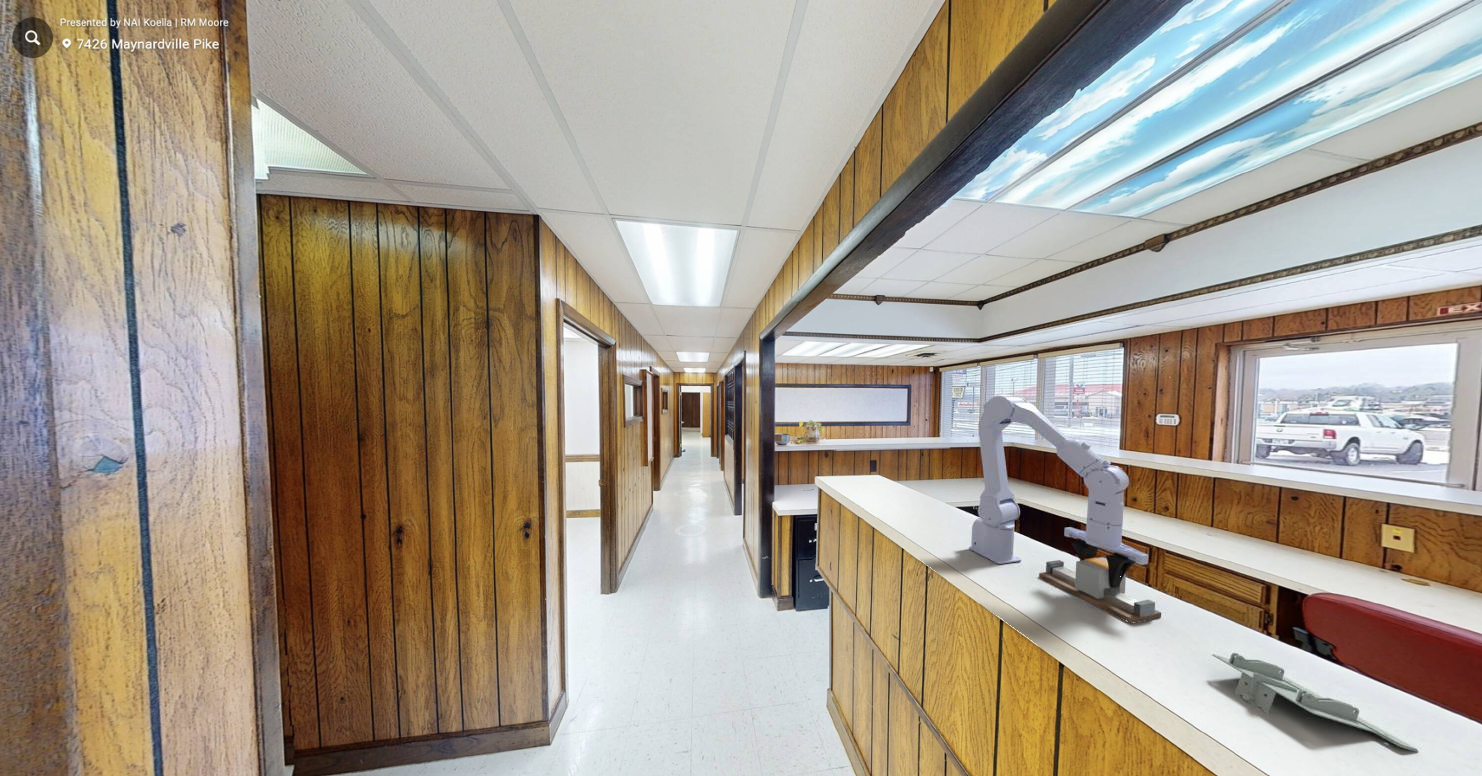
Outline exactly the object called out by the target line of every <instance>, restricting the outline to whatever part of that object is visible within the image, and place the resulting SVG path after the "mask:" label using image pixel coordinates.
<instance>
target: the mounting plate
mask: <svg viewBox="0 0 1482 776" xmlns="http://www.w3.org/2000/svg"><path fill="white" fill-rule="evenodd" d="M1038 574H1039V575H1038V577H1039V578H1040V579H1042V580H1045V581H1047V582H1048V583H1050V584H1052V585H1054V586H1056V587H1058V588H1060V589H1062V590H1064V591H1066V592H1068V593H1069V594H1072V595H1073V596H1075V597H1078V598H1079V599H1081V600H1083V601H1086V602H1087V603H1090V604H1092V605H1093V606H1095V607H1097V608H1099V609H1101V610H1102V611H1103V610H1104V612H1107V613H1110V614H1112V615H1113V616H1115V617H1117V618H1119V619H1121V618H1122V619H1121V620H1123V619H1124V620H1123V621H1125V620H1127V621H1128V622H1127V621H1126V622H1127V623H1129V622H1130V623H1129V624H1131V623H1132V624H1134V623H1133V622H1136V623H1139V622H1138V621H1141V622H1144V620H1146V621H1150V620H1149V619H1151V620H1154V619H1160V618H1162V612H1161V611H1159V610H1157V609H1155V614H1154V615H1149V616H1144V617H1138V616H1136V615H1134V613H1132V612H1130V611H1128V610H1126V609H1123V608H1121V607H1119V606H1117V605H1115V604H1113V603H1111V602H1109V601H1107V600H1105V599H1103V598H1099V599H1097V598H1095V597H1093V596H1091V595H1089V594H1087V593H1085V592H1083V591H1081V590H1079V589H1077V588H1075V585H1074V584H1072V583H1070V582H1068V581H1066V580H1064V579H1061V578H1059V577H1057V576H1055V575H1053V574H1049V573H1047V572H1046V571H1044V572H1038Z"/></svg>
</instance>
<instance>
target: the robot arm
mask: <svg viewBox="0 0 1482 776" xmlns="http://www.w3.org/2000/svg"><path fill="white" fill-rule="evenodd" d="M982 408H983V411H982V414H981V417H980V419H979V421H978V424H977V425H978V427H977V429H978V436H979V438H978V439H979V445H980V455H981V464H982V471H983V472H982V473H983V474H982V475H983V482H984V490H983V491H982V493H981V494H980V496H979V498H980V499H979V506H978V508H977V514H978V517H979V518H977V519H975V520H974V522H973V524H972V525H971V526H972V527H971V544H970V546H968V549H969V550H970V551H973V552H975V553H977V554H979V555H980V556H983V557H984V558H986V559H988V560H990V561H992V562H993V563H996V564H998V565H1003V564H1011V563H1019V562H1022V559H1021V558H1019V557H1017V556H1016V555H1014V542H1015V541H1014V539H1015V521H1016V520H1018V519H1019V517H1020V515H1021V509H1020V506H1019V505H1018V503H1017V502H1016V500H1015V499H1016V498H1015V497H1016V496H1015V494H1014V493H1013V492H1012V490H1011V489H1010V488H1009V482H1008V470H1007V463H1006V456H1005V449H1004V447H1005V446H1004V439H1003V431H1004V430H1005V429H1006V428H1007V427H1008V426H1010V425H1011V423H1013V422H1014V423H1017V424H1022V425H1023V424H1024V425H1027V426H1028V427H1030V428H1031V429H1032V430H1033V431H1035V432H1036V433H1037V434H1039V435H1040V436H1041V437H1042V438H1043V439H1045V440H1046V441H1047V442H1049V443H1050V444H1051V445H1052V446H1054V447H1055V448H1056V456H1058V458H1059V459H1061V460H1062V461H1063V462H1064V463H1065V464H1066V465H1067V466H1069V468H1071V469H1072V470H1073V471H1075V473H1076V474H1078V475H1079V476H1080V477H1082V478H1083V482H1084V485H1085V486H1086V488H1087V489H1088V497H1087V511H1086V513H1087V515H1086V525H1085V526H1086V528H1085V530H1081V529H1078V528H1074V527H1072V526H1070V527H1064V532H1063V533H1064V535H1063V536H1064V537H1066V538H1073V539H1074V540H1075V541H1073V542H1072V543H1071V545H1072V547H1073V549H1074V550H1075V553H1076V555H1077V556H1078V558H1079V559H1078V560H1079V561H1083V560H1085V559H1087V558H1093V557H1095V558H1097V553H1098V551H1099V549H1102V550H1104V551H1107V552H1108V553H1112V554H1109V555H1106V556H1105V558H1106V559H1107V562H1108V567H1109V585H1110V587H1112V588H1117V587H1119V586H1120V583H1121V581H1122V579H1123V577H1124V575H1125V573H1126V574H1127V572H1128V571H1129V569H1130V568H1131V567H1132V566H1133V565H1134V564H1138V565H1140V566H1141V565H1142V566H1143V565H1148V564H1149V554H1147V553H1145V552H1141V551H1140V550H1138V549H1135V548H1133V547H1131V546H1129V545H1126V544H1124V543H1123V542H1122V541H1123V540H1122V536H1123V523H1124V522H1123V521H1124V506H1125V504H1124V498H1125V497H1124V496H1125V495H1124V493H1125V492H1124V491H1125V489H1127V488H1128V486H1129V484H1130V478H1129V476H1128V474H1127V473H1126V472H1125V471H1124V470H1123V468H1122V467H1119V466H1116V465H1111V464H1112V462H1110V460H1108V459H1104V458H1102V457H1101V456H1100V455H1099V454H1097V453H1096V452H1095V451H1094V450H1092V448H1091V447H1092V445H1091V444H1090V443H1088V442H1087V441H1085V442H1083V441H1082V440H1080V439H1071V438H1069V437H1068V436H1067V435H1066V434H1065V433H1064V432H1063V431H1061V429H1059V428H1058V427H1057V426H1056V425H1055V424H1054V423H1053V422H1051V421H1050V420H1049V418H1047V417H1046V416H1045V415H1044V414H1043V413H1042V412H1041V411H1040V410H1038V408H1037V407H1036V406H1035V405H1034V404H1032V403H1030V402H1028V401H1027V400H1026V398H1024V397H1022V396H1020V395H1012V396H1002V395H996V396H993V397H991V398H990V399H988V401H986V402H985V403H984V404H983V407H982ZM1120 576H1121V577H1120Z"/></svg>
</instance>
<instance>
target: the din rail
mask: <svg viewBox="0 0 1482 776" xmlns="http://www.w3.org/2000/svg"><path fill="white" fill-rule="evenodd" d="M1045 563H1046V566H1045V572H1047V573H1049V574H1053V575H1055V576H1057V577H1059V578H1061V579H1064V580H1066V581H1068V582H1070V583H1072V584H1074V585H1075V579H1076V571H1074V570H1072V569H1069V568H1067V567H1065V566H1064V565H1065V564H1064V563H1065V562H1064V561H1063V560H1061V559H1060V560H1058V559H1057V560H1050V561H1046V562H1045ZM1103 599H1105V600H1107V601H1109V602H1111V603H1113V604H1115V605H1117V606H1119V607H1121V608H1123V609H1126V610H1128V611H1130V612H1132V613H1134V615H1136V616H1138V617H1144V616H1149V615H1154V614H1155V610H1156V602H1155V601H1153V600H1151V599H1145V600H1138V599H1135V598H1133V597H1131V596H1128V595H1127V594H1126V593H1124V594H1123V593H1120V592H1118V591H1116V590H1114V589H1112V588H1104V592H1103Z"/></svg>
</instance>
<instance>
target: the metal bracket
mask: <svg viewBox="0 0 1482 776" xmlns="http://www.w3.org/2000/svg"><path fill="white" fill-rule="evenodd" d="M1211 655H1212V656H1213V657H1214V658H1216V659H1218V660H1219V661H1221V662H1223V663H1224V664H1226V665H1228V666H1229V667H1232V668H1233V669H1235V670H1236V671H1239V672H1240V673H1241V674H1240V678H1239V680H1238V683H1237V686H1236V689H1235V692H1234V694H1235V695H1236V694H1237V696H1240V697H1241V696H1242V698H1243V699H1244V700H1246V701H1248V703H1251V704H1252V705H1254V706H1255V707H1257V708H1258V709H1260V708H1261V710H1262V711H1264V713H1266V714H1269V713H1270V711H1271V708H1272V705H1273V702H1274V701H1275V700H1274V699H1275V697H1276V694H1278V695H1279V696H1282V697H1284V698H1285V699H1287V700H1288V701H1290V702H1291V703H1294V704H1295V705H1297V706H1298V707H1300V708H1303V710H1305V711H1307V712H1309V713H1311V714H1313V715H1316V716H1319V717H1322V718H1325V719H1329V720H1332V721H1335V722H1339V723H1342V724H1345V725H1348V726H1351V727H1355V728H1358V729H1360V730H1365V731H1368V732H1370V733H1373V734H1376V736H1379V737H1381V738H1383V739H1384V740H1386V741H1388V742H1390V743H1392V744H1394V745H1396V746H1397V747H1400V748H1403V749H1405V750H1408V751H1409V750H1410V751H1413V752H1416V753H1419V750H1418V748H1416V747H1414V746H1413V745H1411V744H1409V743H1407V742H1406V741H1403V740H1402V739H1400V738H1398V737H1397V736H1394V735H1392V734H1391V733H1389V732H1387V731H1385V730H1384V729H1382V728H1380V727H1378V726H1376V725H1374V724H1373V723H1371V722H1369V721H1367V720H1365V719H1363V718H1361V717H1359V714H1360V710H1359V708H1357V707H1355V706H1353V705H1352V704H1350V703H1346V702H1343V701H1340V700H1337V699H1334V698H1331V697H1323V696H1321V695H1319V694H1317V693H1315V692H1314V691H1312V690H1309V689H1308V688H1306V687H1304V686H1303V685H1300V684H1299V683H1297V682H1296V681H1293V680H1291V679H1290V678H1288V677H1286V676H1284V674H1285V670H1284V668H1283V667H1281V666H1278V665H1276V664H1273V663H1270V662H1267V661H1264V660H1261V659H1252V658H1250V659H1248V658H1247V659H1246V658H1245V657H1244V656H1243V655H1241V654H1238V653H1237V652H1233V653H1232V654H1231V655H1230V658H1227V657H1225V656H1224V657H1223V656H1221V655H1218V654H1214V653H1212V654H1211Z"/></svg>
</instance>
